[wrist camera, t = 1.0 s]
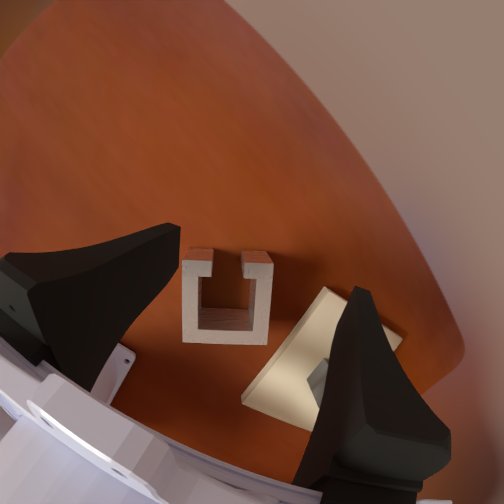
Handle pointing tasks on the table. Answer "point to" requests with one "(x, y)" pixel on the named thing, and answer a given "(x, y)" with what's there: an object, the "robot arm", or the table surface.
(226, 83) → the table surface
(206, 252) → the grey slotted channel block
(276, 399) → the keyed post base
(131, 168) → the table surface
